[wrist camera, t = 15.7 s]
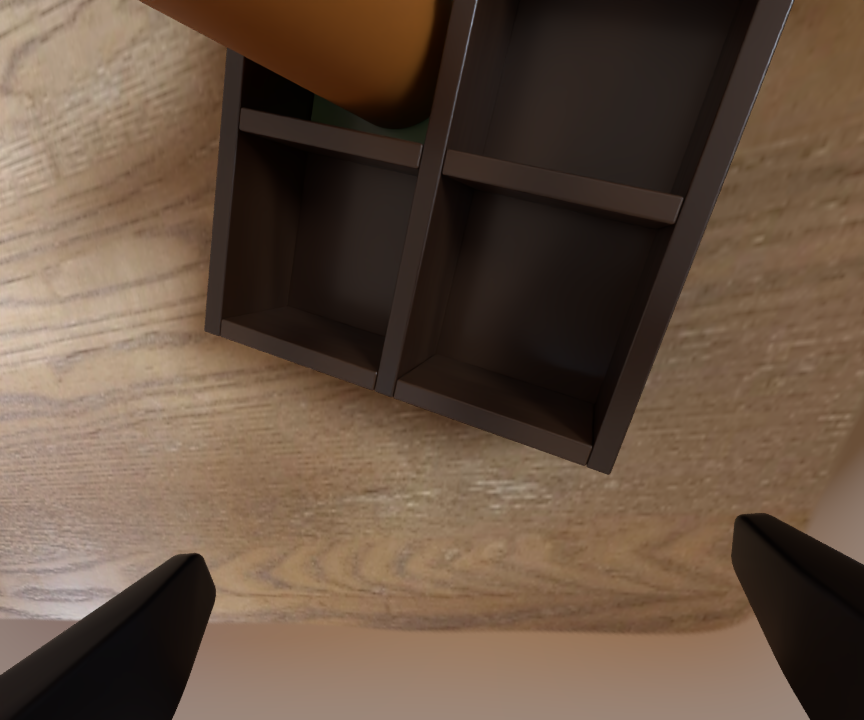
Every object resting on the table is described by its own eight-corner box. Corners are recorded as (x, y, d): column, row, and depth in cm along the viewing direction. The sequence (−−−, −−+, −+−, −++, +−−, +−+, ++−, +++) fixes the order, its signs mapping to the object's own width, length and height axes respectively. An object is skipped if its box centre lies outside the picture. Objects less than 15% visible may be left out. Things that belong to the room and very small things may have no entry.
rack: (778, -38, 14) (859, -164, 9) (607, 421, 18) (610, 476, 14) (331, -74, 17) (244, -177, 13) (280, 314, 22) (203, 331, 18)
